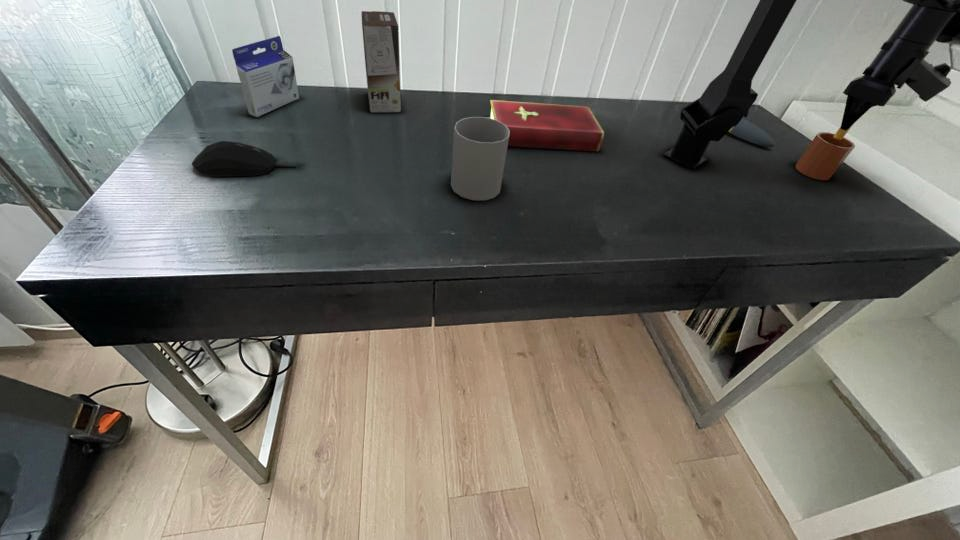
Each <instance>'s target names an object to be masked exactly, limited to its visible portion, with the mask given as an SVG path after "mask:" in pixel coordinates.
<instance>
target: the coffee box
mask: <svg viewBox="0 0 960 540" xmlns="http://www.w3.org/2000/svg"><path fill="white" fill-rule="evenodd" d="M361 29H362V30H361V31H362V42H363V53H364V64H365V65H364V66H365V75H366V77H365V78H366V86H367V95H368V106H369V111H370V113H400V112H401V110H402V103H401V101H402V100H401V74H400V73H401V72H400V69H401V68H400V67H401V66H400V38H399V35H400V34H399V24H398V21H397V17H396V15H395V12H393V11H377V10H376V11H375V10H373V11H368V10H367V11H365V10H362V11H361Z"/></svg>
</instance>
